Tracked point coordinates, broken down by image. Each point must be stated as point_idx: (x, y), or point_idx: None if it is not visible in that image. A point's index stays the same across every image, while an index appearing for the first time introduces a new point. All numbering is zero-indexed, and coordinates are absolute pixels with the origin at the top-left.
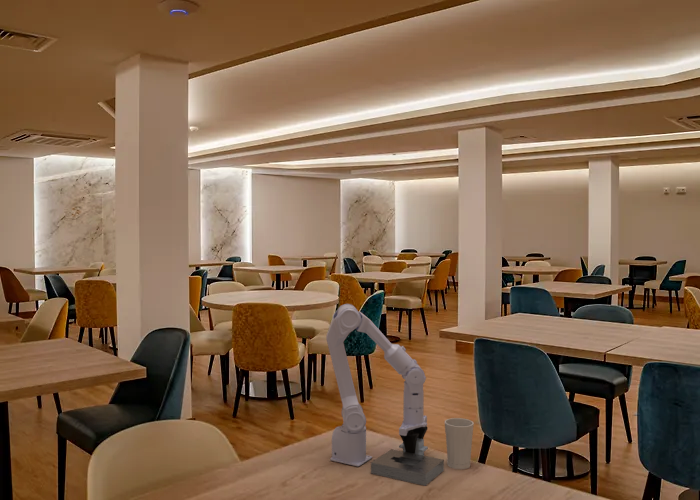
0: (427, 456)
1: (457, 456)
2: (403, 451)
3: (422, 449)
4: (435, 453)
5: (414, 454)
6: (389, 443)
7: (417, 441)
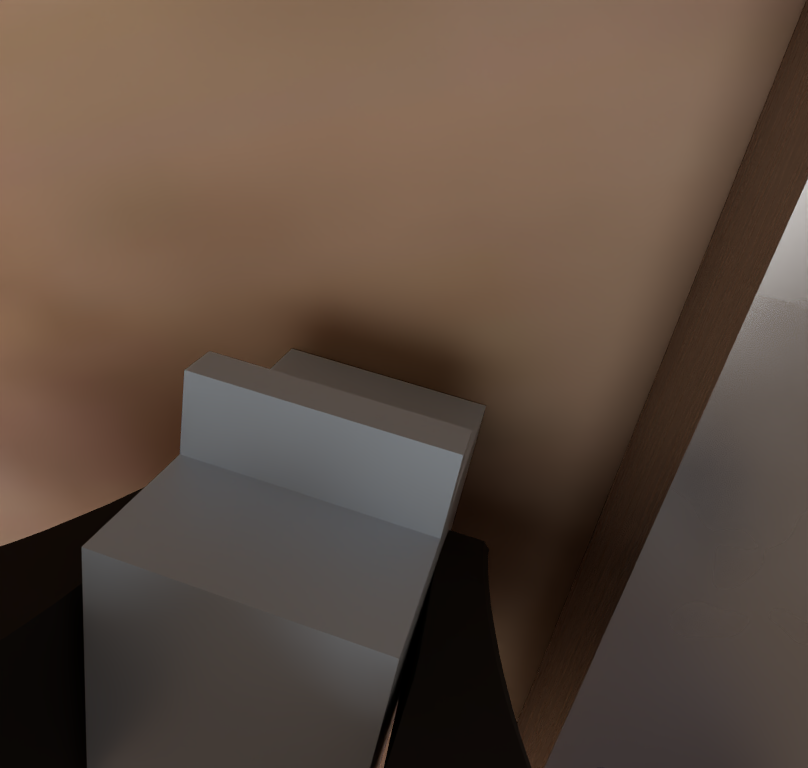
0: (766, 284)
1: None
2: None
3: (413, 464)
4: (7, 195)
5: (677, 585)
6: None
7: (314, 687)
